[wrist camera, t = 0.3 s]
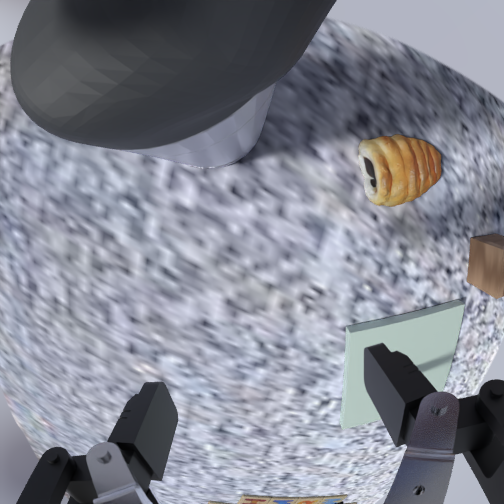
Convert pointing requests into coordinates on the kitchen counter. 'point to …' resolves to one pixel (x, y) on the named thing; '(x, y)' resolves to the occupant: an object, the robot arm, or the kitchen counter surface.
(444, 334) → the green peg base
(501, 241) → the hollow wooden cube
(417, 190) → the pastry
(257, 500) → the alphabet tiles
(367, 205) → the kitchen counter surface
